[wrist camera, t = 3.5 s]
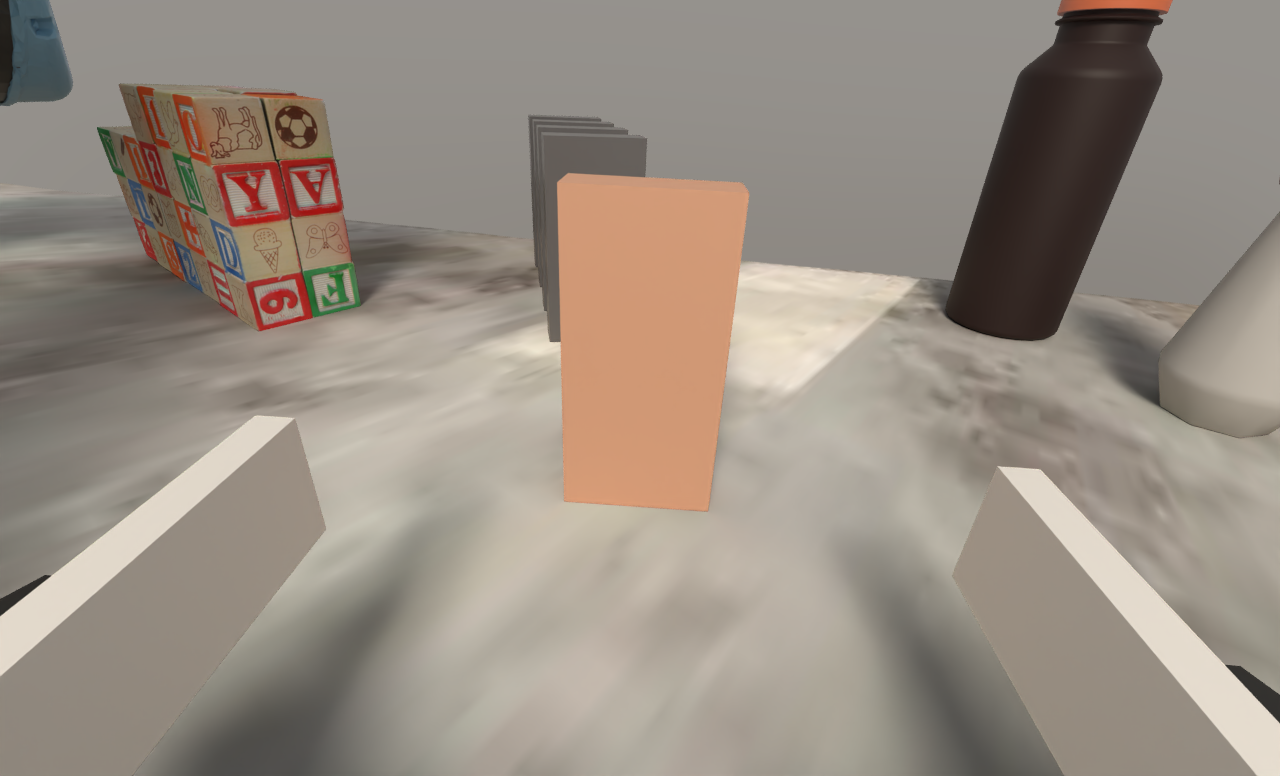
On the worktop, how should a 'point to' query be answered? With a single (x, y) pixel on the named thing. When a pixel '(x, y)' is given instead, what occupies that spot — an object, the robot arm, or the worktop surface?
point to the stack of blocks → (237, 197)
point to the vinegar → (1057, 168)
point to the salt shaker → (1231, 349)
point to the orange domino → (645, 334)
